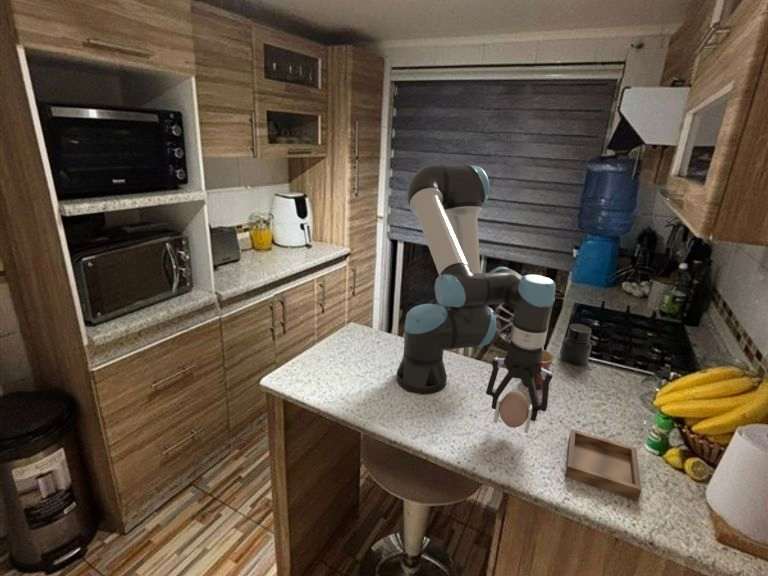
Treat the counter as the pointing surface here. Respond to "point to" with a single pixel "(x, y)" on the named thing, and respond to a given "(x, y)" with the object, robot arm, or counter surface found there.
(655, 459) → the counter surface
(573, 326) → the ink bottle
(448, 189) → the robot arm
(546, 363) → the mug
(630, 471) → the tray
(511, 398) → the egg
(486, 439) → the counter surface
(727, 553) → the counter surface
